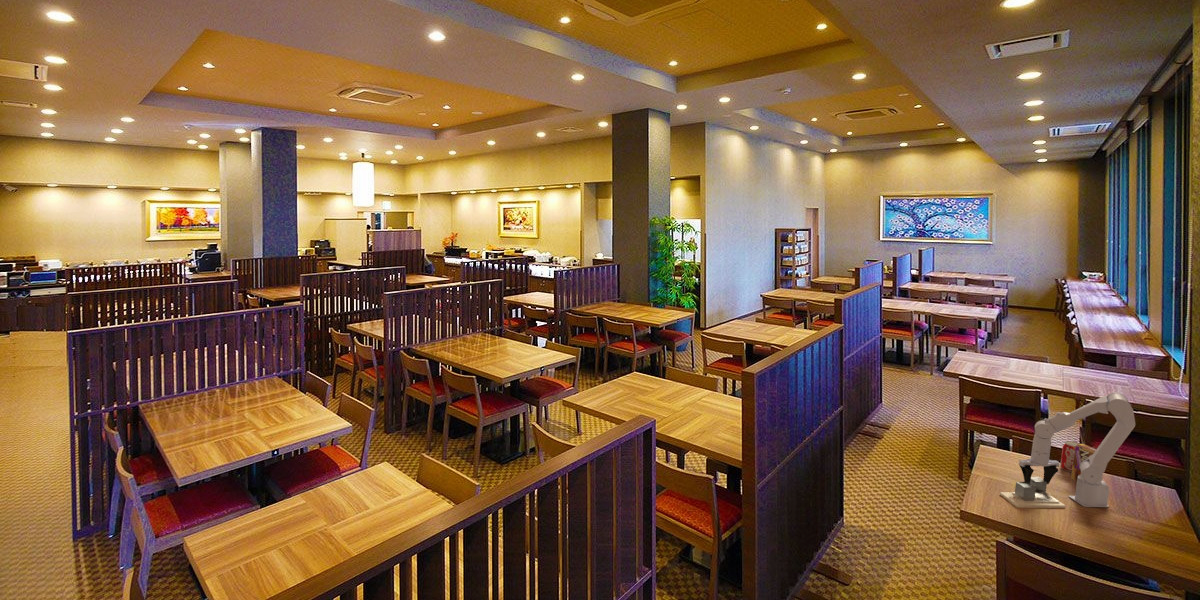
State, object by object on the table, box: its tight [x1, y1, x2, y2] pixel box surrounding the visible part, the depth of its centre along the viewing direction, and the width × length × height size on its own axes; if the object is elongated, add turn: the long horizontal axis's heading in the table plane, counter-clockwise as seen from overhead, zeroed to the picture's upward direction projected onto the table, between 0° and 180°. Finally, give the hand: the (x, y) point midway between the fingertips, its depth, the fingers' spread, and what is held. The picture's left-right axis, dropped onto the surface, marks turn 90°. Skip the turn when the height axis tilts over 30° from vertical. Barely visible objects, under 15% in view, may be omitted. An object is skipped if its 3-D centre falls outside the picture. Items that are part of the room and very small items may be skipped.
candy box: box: [1070, 443, 1097, 482], centre depth 242 cm, size 9×4×15 cm, turn 12°
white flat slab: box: [1011, 491, 1060, 503], centre depth 229 cm, size 13×7×1 cm, turn 89°
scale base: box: [999, 491, 1066, 509], centre depth 228 cm, size 18×10×1 cm, turn 89°
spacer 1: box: [1014, 481, 1036, 500], centre depth 228 cm, size 4×4×5 cm
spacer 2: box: [1030, 476, 1048, 493], centre depth 236 cm, size 4×4×5 cm
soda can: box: [1059, 440, 1080, 473], centre depth 254 cm, size 7×7×12 cm
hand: (1036, 482), depth 236 cm, fingers open, 7 cm apart
